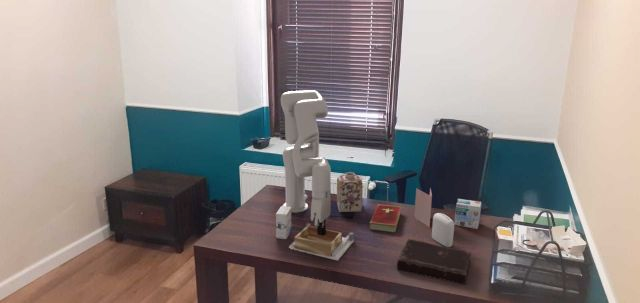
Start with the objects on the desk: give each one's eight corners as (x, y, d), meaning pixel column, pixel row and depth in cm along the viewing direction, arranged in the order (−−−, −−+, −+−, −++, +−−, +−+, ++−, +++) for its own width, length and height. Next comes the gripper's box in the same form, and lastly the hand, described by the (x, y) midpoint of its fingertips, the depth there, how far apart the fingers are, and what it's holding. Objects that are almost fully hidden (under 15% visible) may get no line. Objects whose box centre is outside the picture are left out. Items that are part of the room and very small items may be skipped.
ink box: (281, 229, 203) (280, 205, 200) (292, 230, 202) (291, 206, 199) (275, 238, 195) (275, 213, 192) (287, 239, 194) (286, 214, 191)
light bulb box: (453, 225, 207) (455, 203, 204) (455, 219, 213) (457, 198, 210) (478, 229, 203) (480, 207, 200) (479, 223, 209) (481, 201, 206)
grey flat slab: (307, 231, 202) (307, 223, 200) (353, 241, 192) (353, 233, 191) (288, 248, 187) (288, 239, 186) (337, 260, 178) (337, 251, 177)
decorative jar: (359, 202, 232) (360, 169, 227) (362, 212, 221) (363, 177, 216) (336, 202, 232) (336, 169, 226) (338, 212, 220) (338, 178, 215)
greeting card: (431, 227, 205) (433, 196, 201) (414, 226, 206) (416, 195, 202) (430, 216, 216) (432, 187, 211) (414, 215, 217) (416, 186, 213)
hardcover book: (368, 230, 204) (369, 221, 202) (376, 211, 223) (377, 203, 222) (395, 233, 200) (396, 225, 199) (401, 214, 219) (401, 206, 218)
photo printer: (430, 237, 196) (432, 211, 192) (437, 235, 198) (440, 209, 194) (446, 248, 187) (448, 221, 183) (454, 246, 189) (456, 219, 185)
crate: (307, 235, 195) (307, 225, 194) (342, 243, 189) (342, 232, 187) (294, 248, 185) (294, 237, 183) (330, 256, 178) (330, 245, 177)
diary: (464, 287, 162) (466, 274, 160) (396, 271, 172) (397, 260, 170) (470, 261, 178) (471, 249, 177) (407, 248, 188) (408, 237, 186)
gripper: (320, 185, 190) (321, 225, 195) (304, 197, 177) (305, 240, 182) (337, 188, 187) (337, 228, 192) (321, 200, 174) (322, 244, 179)
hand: (321, 234), depth 187 cm, fingers closed
